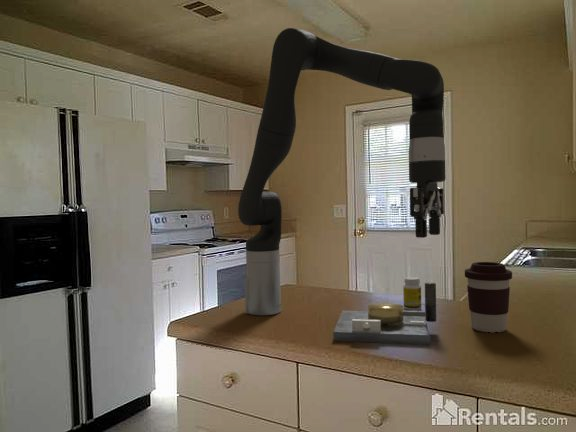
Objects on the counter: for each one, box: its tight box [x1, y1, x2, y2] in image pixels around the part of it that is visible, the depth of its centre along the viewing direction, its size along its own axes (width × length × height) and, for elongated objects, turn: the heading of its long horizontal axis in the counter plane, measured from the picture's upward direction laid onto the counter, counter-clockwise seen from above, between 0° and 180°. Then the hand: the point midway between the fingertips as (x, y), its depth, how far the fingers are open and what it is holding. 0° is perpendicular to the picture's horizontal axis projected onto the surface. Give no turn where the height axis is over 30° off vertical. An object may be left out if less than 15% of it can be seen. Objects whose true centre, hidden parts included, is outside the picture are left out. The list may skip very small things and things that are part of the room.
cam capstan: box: [367, 282, 437, 324], centre depth 105 cm, size 15×8×8 cm, turn 78°
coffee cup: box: [464, 261, 513, 334], centre depth 105 cm, size 10×10×15 cm
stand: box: [333, 310, 431, 346], centre depth 106 cm, size 20×19×4 cm
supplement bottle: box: [402, 276, 422, 311], centre depth 126 cm, size 5×5×8 cm
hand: (428, 236), depth 99 cm, fingers open, 7 cm apart
